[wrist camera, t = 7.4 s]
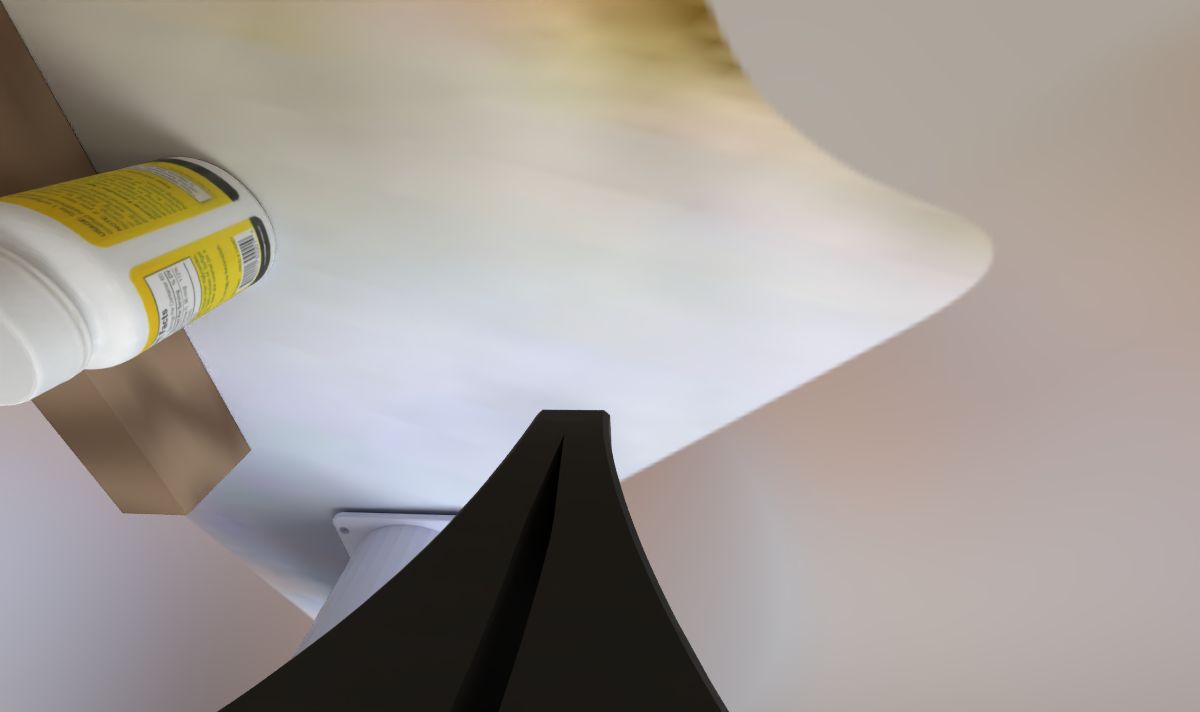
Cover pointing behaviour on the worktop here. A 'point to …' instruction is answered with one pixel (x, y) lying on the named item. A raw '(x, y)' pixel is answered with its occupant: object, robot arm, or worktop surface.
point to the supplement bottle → (119, 266)
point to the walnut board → (138, 386)
